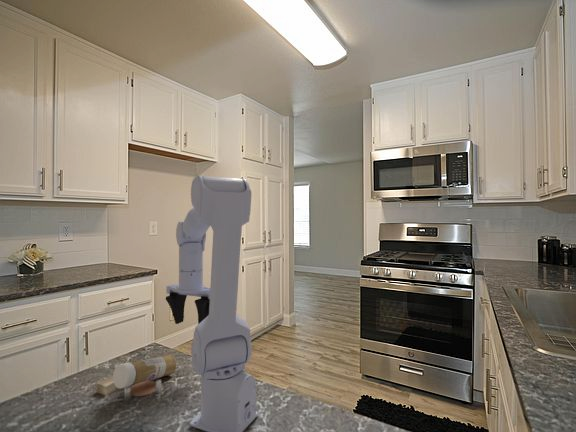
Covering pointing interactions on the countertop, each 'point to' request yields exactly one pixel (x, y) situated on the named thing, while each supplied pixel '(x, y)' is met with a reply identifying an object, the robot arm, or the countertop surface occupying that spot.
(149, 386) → the wooden bar with disc
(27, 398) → the countertop surface
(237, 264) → the robot arm
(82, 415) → the countertop surface
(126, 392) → the guide pins
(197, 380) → the countertop surface
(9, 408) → the countertop surface
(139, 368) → the sprinkles bottle
